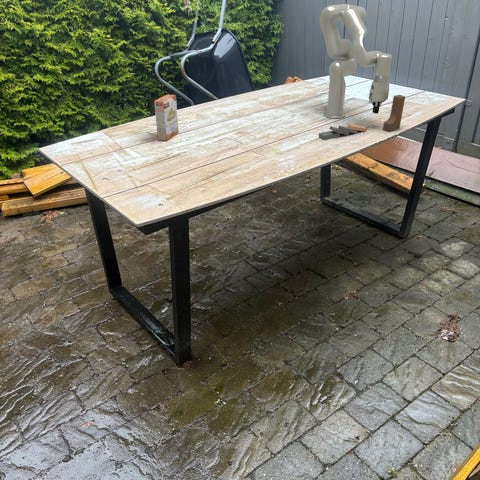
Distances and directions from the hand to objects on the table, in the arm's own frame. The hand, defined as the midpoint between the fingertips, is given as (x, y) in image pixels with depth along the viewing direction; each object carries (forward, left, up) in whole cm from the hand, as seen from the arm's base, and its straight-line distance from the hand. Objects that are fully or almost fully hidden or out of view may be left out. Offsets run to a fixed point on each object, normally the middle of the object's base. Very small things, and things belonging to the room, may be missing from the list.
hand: (375, 112), depth 250 cm
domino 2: (+1, -25, -9) cm, 27 cm away
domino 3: (+1, -20, -8) cm, 21 cm away
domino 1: (+1, -26, -7) cm, 27 cm away
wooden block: (+7, +7, -9) cm, 13 cm away
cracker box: (-39, -107, -9) cm, 114 cm away
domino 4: (+1, -14, -8) cm, 16 cm away
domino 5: (+1, -7, -8) cm, 10 cm away
